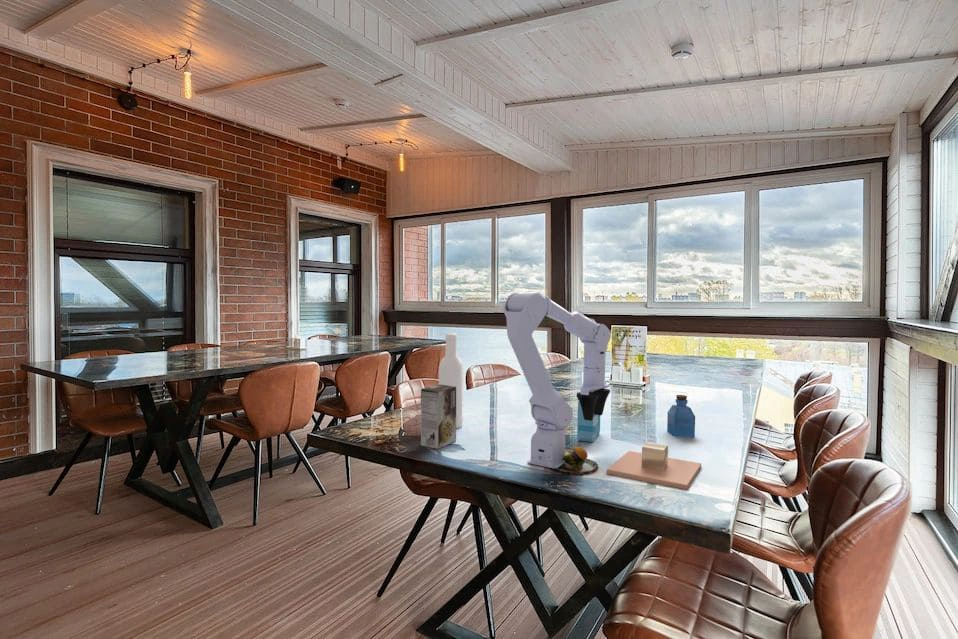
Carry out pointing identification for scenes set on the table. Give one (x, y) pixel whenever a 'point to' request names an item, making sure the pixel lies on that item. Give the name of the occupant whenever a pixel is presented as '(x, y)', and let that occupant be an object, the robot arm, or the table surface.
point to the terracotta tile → (656, 471)
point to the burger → (578, 461)
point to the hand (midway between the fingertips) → (593, 417)
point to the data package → (587, 427)
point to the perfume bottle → (681, 419)
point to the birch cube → (655, 456)
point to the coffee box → (438, 416)
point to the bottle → (453, 374)
